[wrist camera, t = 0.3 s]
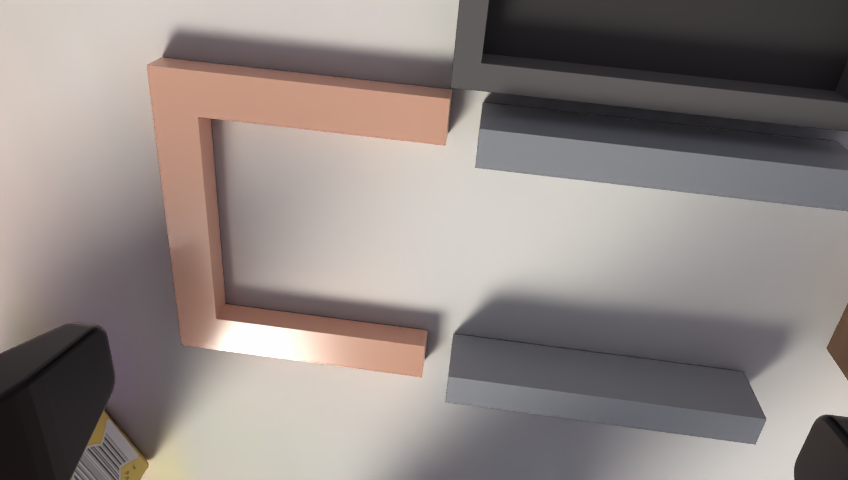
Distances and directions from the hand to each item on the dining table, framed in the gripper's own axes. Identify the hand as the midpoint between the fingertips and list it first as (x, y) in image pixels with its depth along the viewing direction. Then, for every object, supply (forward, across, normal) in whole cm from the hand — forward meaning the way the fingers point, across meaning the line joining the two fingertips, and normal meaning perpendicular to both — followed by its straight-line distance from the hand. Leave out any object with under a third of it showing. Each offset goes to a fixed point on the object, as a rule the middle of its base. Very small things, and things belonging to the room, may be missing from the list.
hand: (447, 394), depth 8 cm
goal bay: (+14, +5, +6) cm, 16 cm away
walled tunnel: (+14, -6, +6) cm, 16 cm away
